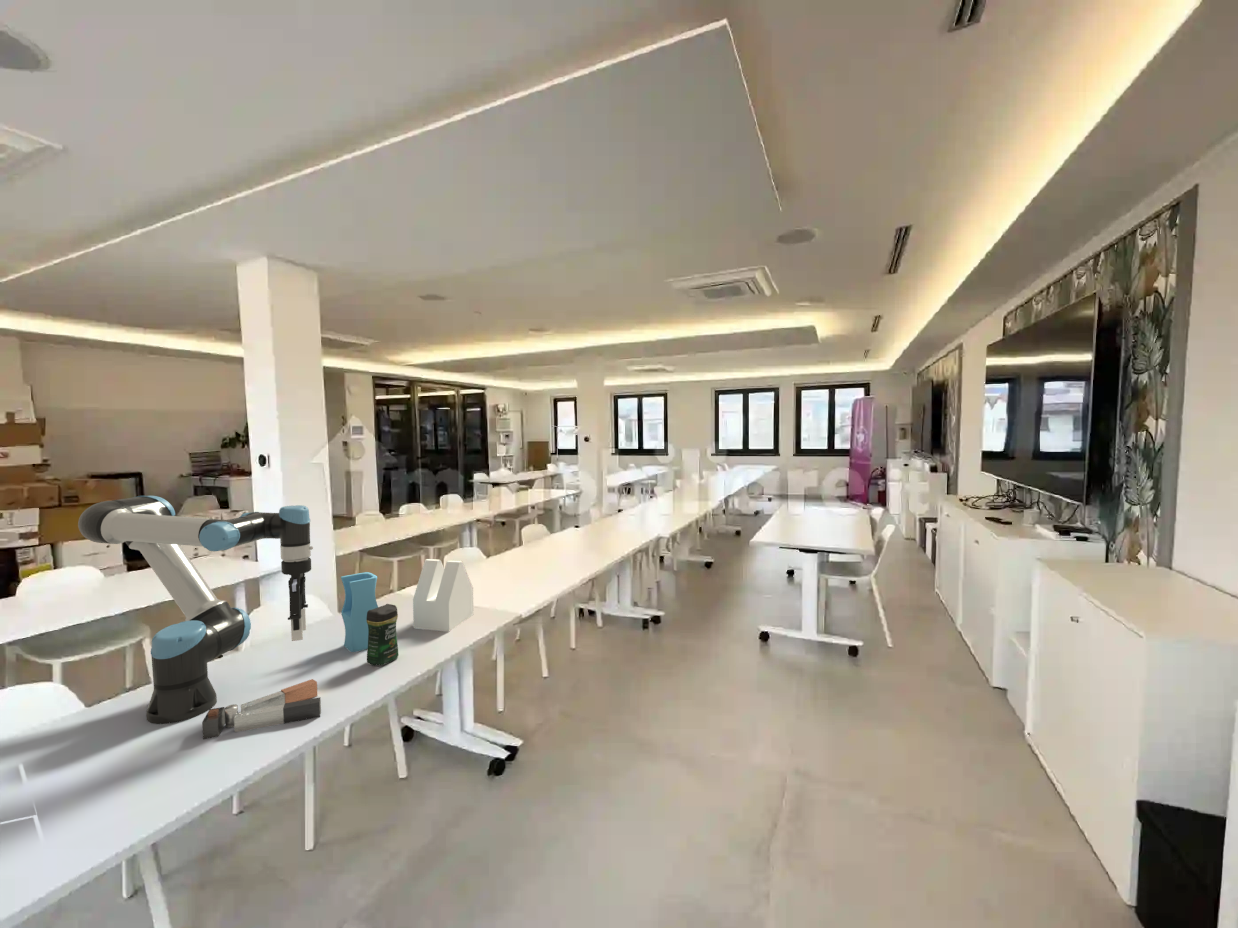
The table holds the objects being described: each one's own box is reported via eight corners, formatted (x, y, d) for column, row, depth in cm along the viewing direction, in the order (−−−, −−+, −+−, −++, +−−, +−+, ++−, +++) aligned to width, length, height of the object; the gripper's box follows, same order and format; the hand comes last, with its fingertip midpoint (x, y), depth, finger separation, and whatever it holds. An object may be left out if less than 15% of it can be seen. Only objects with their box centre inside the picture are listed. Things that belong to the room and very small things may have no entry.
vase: (342, 644, 195) (340, 576, 194) (370, 637, 202) (368, 571, 200) (352, 653, 188) (349, 582, 187) (380, 645, 195) (379, 576, 193)
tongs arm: (227, 728, 140) (226, 711, 140) (223, 725, 142) (222, 707, 142) (317, 695, 158) (316, 679, 157) (313, 692, 160) (312, 676, 159)
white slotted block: (449, 631, 208) (448, 567, 206) (413, 628, 212) (412, 565, 210) (473, 614, 227) (472, 556, 225) (440, 611, 230) (439, 553, 229)
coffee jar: (380, 668, 177) (378, 612, 175) (362, 664, 180) (361, 609, 178) (403, 656, 185) (402, 603, 184) (386, 652, 189) (384, 600, 187)
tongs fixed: (203, 739, 136) (202, 718, 135) (210, 726, 142) (209, 705, 141) (319, 717, 146) (319, 698, 146) (322, 706, 152) (321, 687, 152)
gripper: (306, 565, 151) (309, 645, 153) (314, 550, 169) (316, 621, 171) (275, 568, 148) (278, 650, 150) (286, 552, 166) (289, 625, 168)
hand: (299, 634), depth 160 cm, fingers open, 7 cm apart
